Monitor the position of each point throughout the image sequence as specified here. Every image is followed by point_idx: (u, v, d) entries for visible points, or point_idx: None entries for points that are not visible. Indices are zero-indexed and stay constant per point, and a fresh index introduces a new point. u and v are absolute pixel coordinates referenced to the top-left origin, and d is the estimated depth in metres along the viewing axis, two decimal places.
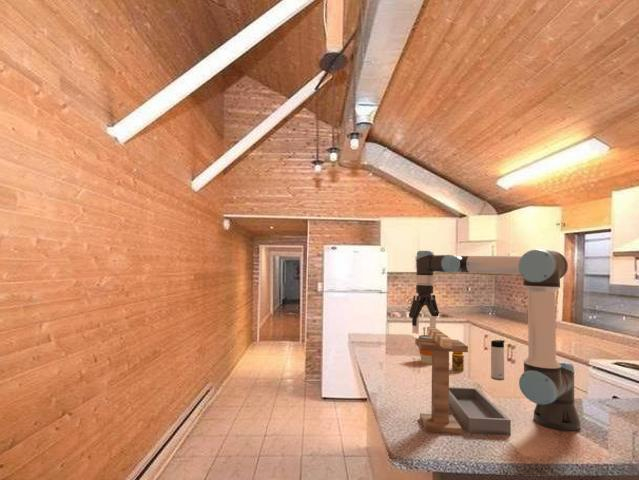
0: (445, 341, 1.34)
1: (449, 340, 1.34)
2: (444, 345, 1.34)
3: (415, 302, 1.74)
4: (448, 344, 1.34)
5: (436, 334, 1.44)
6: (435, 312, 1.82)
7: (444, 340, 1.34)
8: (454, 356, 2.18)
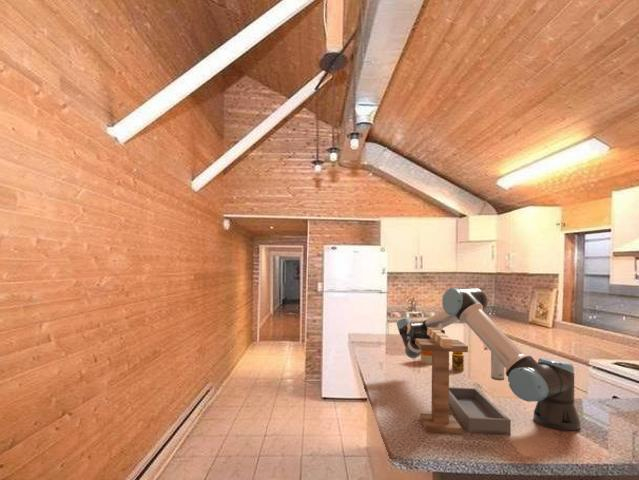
0: (445, 341, 1.34)
1: (449, 340, 1.34)
2: (444, 345, 1.34)
3: None
4: (448, 344, 1.34)
5: (436, 334, 1.44)
6: None
7: (444, 340, 1.34)
8: (454, 356, 2.18)
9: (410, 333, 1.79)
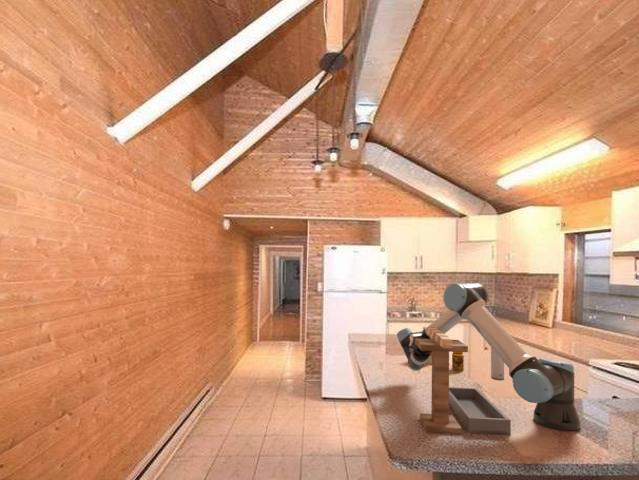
0: (445, 341, 1.34)
1: (449, 340, 1.34)
2: (444, 345, 1.34)
3: None
4: (448, 344, 1.34)
5: (436, 334, 1.44)
6: None
7: (444, 340, 1.34)
8: (454, 356, 2.18)
9: (413, 345, 1.70)
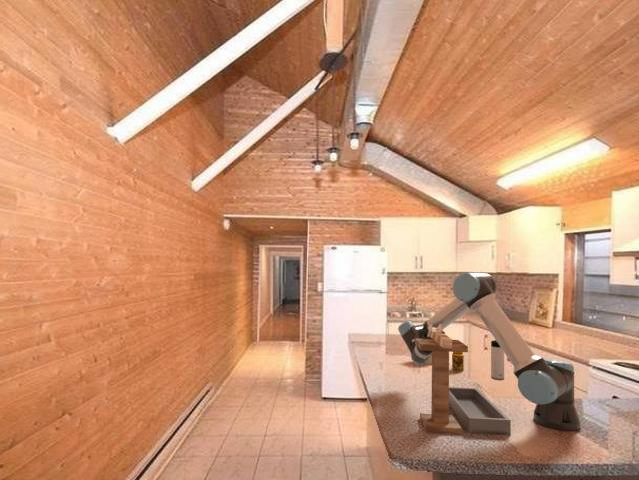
0: (445, 341, 1.34)
1: (449, 340, 1.34)
2: (444, 345, 1.34)
3: None
4: (448, 344, 1.34)
5: (436, 334, 1.44)
6: None
7: (444, 340, 1.34)
8: (454, 356, 2.18)
9: None
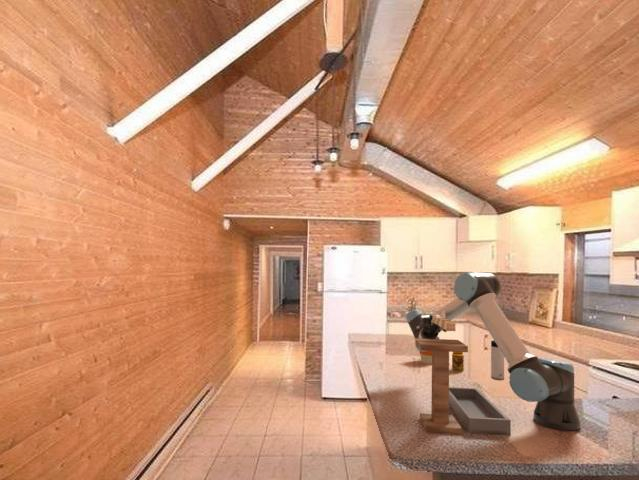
0: (449, 324, 1.45)
1: (453, 324, 1.45)
2: (448, 328, 1.45)
3: (419, 325, 1.74)
4: (452, 327, 1.45)
5: (440, 319, 1.54)
6: None
7: (448, 324, 1.45)
8: (454, 356, 2.18)
9: None
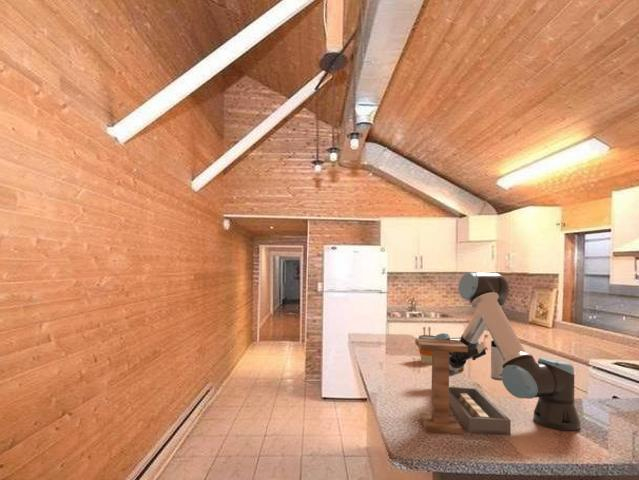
0: None
1: None
2: None
3: None
4: None
5: (471, 407, 1.51)
6: None
7: None
8: None
9: None
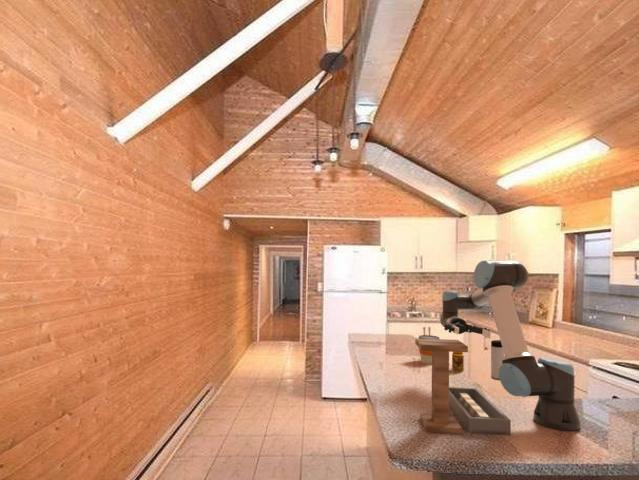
0: None
1: None
2: None
3: None
4: None
5: (471, 407, 1.51)
6: (482, 328, 1.78)
7: None
8: (454, 356, 2.18)
9: None
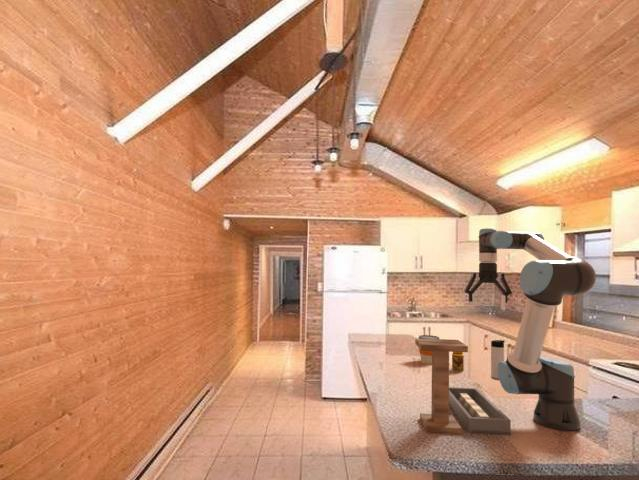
0: None
1: None
2: None
3: (471, 279, 1.79)
4: None
5: (471, 407, 1.51)
6: (505, 291, 1.77)
7: None
8: (454, 356, 2.18)
9: None
